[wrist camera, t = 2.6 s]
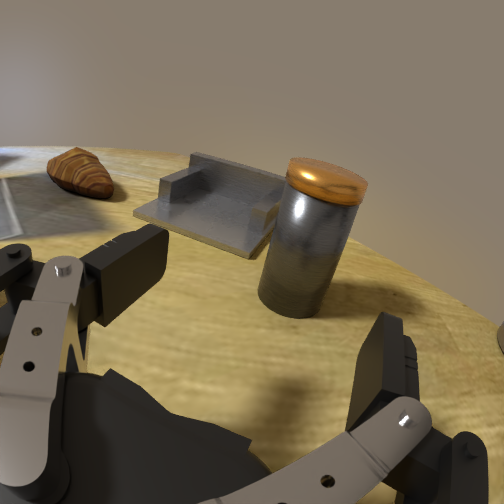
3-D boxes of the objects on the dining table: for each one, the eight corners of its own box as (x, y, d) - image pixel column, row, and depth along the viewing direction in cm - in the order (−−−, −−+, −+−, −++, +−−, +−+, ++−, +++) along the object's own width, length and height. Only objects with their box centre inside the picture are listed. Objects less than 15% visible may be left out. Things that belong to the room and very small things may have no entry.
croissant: (29, 180, 34) (29, 143, 32) (69, 168, 40) (70, 134, 37) (85, 211, 30) (85, 164, 28) (130, 194, 36) (133, 153, 33)
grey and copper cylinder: (319, 284, 27) (358, 171, 22) (324, 325, 22) (377, 194, 18) (258, 271, 27) (289, 152, 22) (253, 310, 22) (290, 170, 18)
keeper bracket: (191, 186, 41) (196, 152, 39) (283, 216, 38) (293, 179, 36) (132, 215, 31) (135, 171, 29) (248, 259, 28) (259, 210, 26)
